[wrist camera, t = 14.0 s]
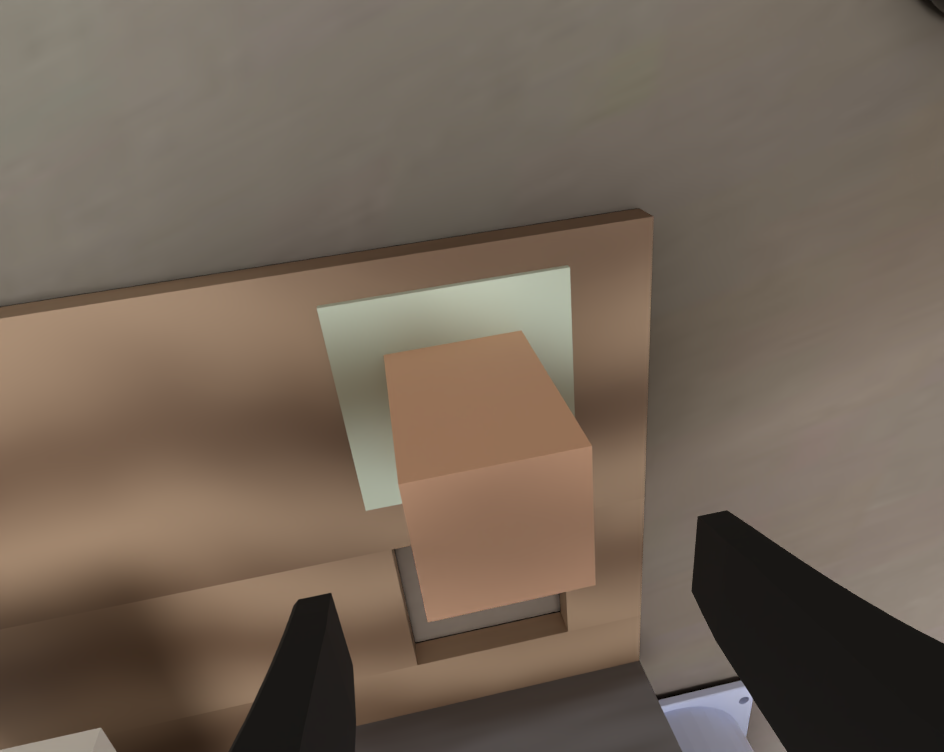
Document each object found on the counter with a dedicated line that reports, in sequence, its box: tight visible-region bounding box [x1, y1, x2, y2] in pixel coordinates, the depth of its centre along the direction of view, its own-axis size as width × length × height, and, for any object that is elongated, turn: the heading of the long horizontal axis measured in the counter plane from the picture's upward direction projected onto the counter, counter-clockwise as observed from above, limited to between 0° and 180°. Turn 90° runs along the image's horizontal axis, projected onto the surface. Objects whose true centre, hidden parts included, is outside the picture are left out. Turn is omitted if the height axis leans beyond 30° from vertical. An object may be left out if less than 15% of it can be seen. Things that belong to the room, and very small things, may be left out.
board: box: [0, 209, 682, 752], centre depth 19 cm, size 21×25×6 cm
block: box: [384, 330, 596, 622], centre depth 16 cm, size 4×4×6 cm
